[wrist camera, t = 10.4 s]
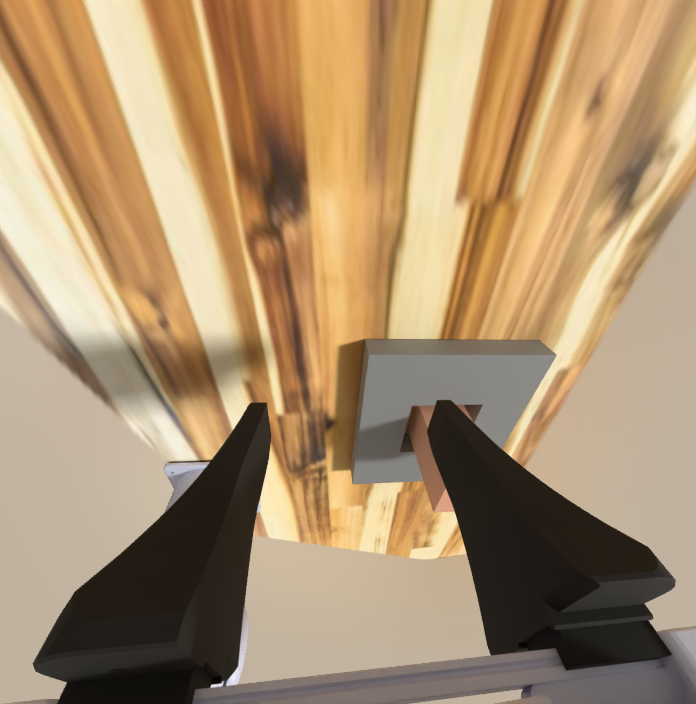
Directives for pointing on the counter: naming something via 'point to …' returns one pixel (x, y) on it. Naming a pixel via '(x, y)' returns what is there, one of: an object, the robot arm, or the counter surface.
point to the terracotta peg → (428, 456)
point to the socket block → (438, 395)
